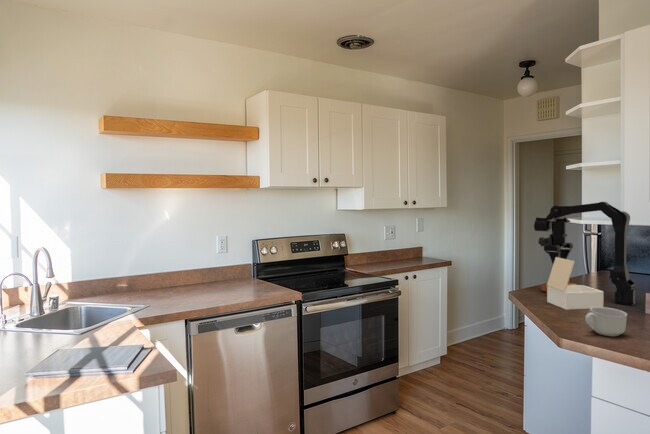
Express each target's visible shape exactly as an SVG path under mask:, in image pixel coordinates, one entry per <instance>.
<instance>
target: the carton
mask: <svg viewBox="0 0 650 434" xmlns="http://www.w3.org/2000/svg"><path fill="white" fill-rule="evenodd" d="M546 295H547V296H546V298H547V300H546V302H547V303H548V304H551V305H554V306H557V307H559V308H561V309H564V310H567V311H568V310H590V308H592V307H604V291H603V290H600V289H596V288H593V287H590V286H587V285H582V284H579V285H578V284H577V285H567V288H566V291H563V290H560V289H557V288H554V287H551V286H547V292H546Z"/></svg>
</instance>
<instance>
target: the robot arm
mask: <svg viewBox="0 0 650 434" xmlns="http://www.w3.org/2000/svg"><path fill="white" fill-rule="evenodd" d="M598 211H599V212H601V213H603V214H604V215H605V216H607V217H608V218H609V219H611V224H612V225H611V226H612V228H613V231H614V266H613V267H610V268H609V269H608V270H609V277H608V279H610V282H611V283H612V284H613V286H615V288H616V290H615V292H614V304H618V305H626V306H634V305H635V304H637V302H636V289H635V287H636V283H635V282H634V281H633V280H632V279H631V278H630V277H631V276H630V271H629V269H628V266H627V231H628V229H629V225H630V221H631V215H630V213H628V212H627V211H623V210H622V211H621V210H620V209H618V208H616V207H614V206H613V205H612V204H610V203H608V202H607V201H599V202H594V203H585V204H578V205H564V204H563V205H562V204H561V205H554V206H552V207H551V208H550V210H549V213H548V214H547V216H546V217H540V216H539V217H538V216H537V217H535V220H534V224H533V229H534V231H535V232H547V233H548V232H550V230H551V233H549V237H544V236H542V237H539V238H538V243H537V244H538V245H540V247H543V252H544V251H545V253H546V254H548V256H549V258H550V260H551V263H552V265H553V264H554V261H555V258H556V257H558V258H563V259H567V260H568V257H569V255H570V254H571V251H573V249H574V243H572V242H566V237H568V233H566V224H567V223H571V219H569V218H568V217H567V216H571V215H575V214H581V213H582V214H583V213H589V212H598Z"/></svg>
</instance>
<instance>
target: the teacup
mask: <svg viewBox="0 0 650 434" xmlns="http://www.w3.org/2000/svg"><path fill="white" fill-rule="evenodd" d="M627 318H628V313H627V312H625V311H623V310H620V309H617V308H611V307H607V306H603V307H592V308H590V309H589V312H588V313H587V314H586V315H585V318H584V320H585V322H586V324H587V325H588V326H590V328H591V329H592V330H593V331H594V332H595V333H596V334H599V335H602V336H606V337H618V336H620V335H622V334H623V333H624V332H625V331H626V328H627V327H626V326H627Z"/></svg>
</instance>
